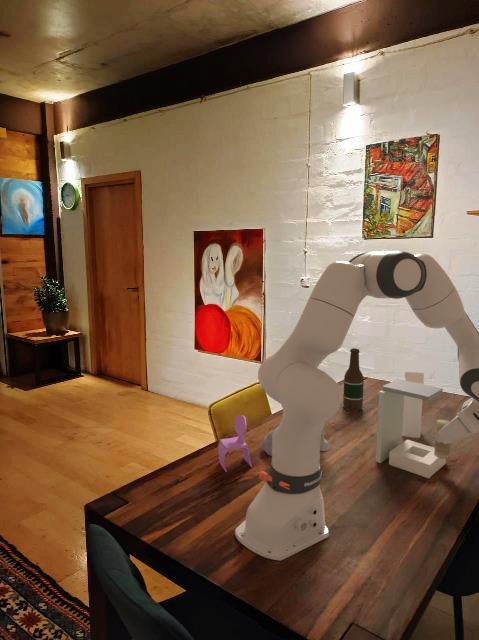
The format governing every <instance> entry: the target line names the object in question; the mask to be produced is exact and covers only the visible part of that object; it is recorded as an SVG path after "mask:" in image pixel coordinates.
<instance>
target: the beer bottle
mask: <svg viewBox="0 0 479 640" xmlns="http://www.w3.org/2000/svg"><path fill="white" fill-rule="evenodd" d="M349 352H350V356H349V365H348V369H347V370H346V371H345V374H344V377H343V394H342V400H343V403H342V405H343V408H344V409H345V410H348V411H354V412H355V411H356V412H357V411H360V410H363V406H364V405H363V404H364V384H365V383H364V376H363V373H362V371H361V368H360V349H359V348H350V350H349Z"/></svg>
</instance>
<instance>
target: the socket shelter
mask: <svg viewBox="0 0 479 640" xmlns="http://www.w3.org/2000/svg"><path fill="white" fill-rule="evenodd" d="M443 390H444V389H443V387H442V388H441V387H436V386H432V385H428V384H424V385H423V384H419V383H414V382H409V381H405V379H404V380H403V379H399V378H397V379H395V380H393V381H391V382H389V383H386V384H384V385H382V390H380V391H378V406H377V425H376V444H375V445H376V447H375V448H376V449H375V462H376V463H379V464H381V463H383V462H384V461H385V460H387V459H388V466H389V465H390V466H392V467H394V468H398V469H402V470H404V471H407V472H410V473H412V474H416V475H418V476H420V477H424V478H426V479H430V478H431V477H432V476H434V474H436V473H437V472H438V471H439V470H440V469H442V467H443V466H445V465H446V461H447V459H442V458H438V457H436V456H435V455H434V452H435V446H431V445H427V444H423V443H421V442H417V441H414V440H411V439H406V440H405V441H403V436H402V428H403V411H404V395H405V396H409V397H414V398H418V399H422V400H423V401H426V402H429V401H431V400H432V399H434V398H436V397H437V396H439V395H441V394H442V393H443Z"/></svg>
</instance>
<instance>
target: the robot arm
mask: <svg viewBox="0 0 479 640" xmlns="http://www.w3.org/2000/svg"><path fill="white" fill-rule="evenodd" d="M368 296H369V297H373V298H376V299H394V300H397V299H398V300H399V299H404V298H405V300H406V302H407V304H408V305H409V307H410V309H411V311H412V312H413V313H414V314H415V316H416V318H417V319H418V321H420V322H421V323H422V324H423V325H424V326H425V327H427V328H430V329H443V328H445V329H446V332H447V333H448V334H449V336H450V337H451V339H452V340H453V341H454V344H455V345H456V348H457V360H458V361H457V362H458V374H459V376H458V377H459V384H460V388H461V390H462V391H463V393H465V394H466V395H467V396H469V397H470V398H469V399H467V400H465V401H464V402H463V404H462V407H461V409H460V410H459V411H458V412H457V413H456V416H455V417H454V418H453V419H452V420H451V421H450V420H449V421H450V422H449V423H448V424H447V425H445V426H444V427H443V428H442V429H441V430H439V431H438V433H437V436H436V435H435V437H434V440H436V441H437V442H438V443H440V442H441V441H442V442H443V443H444V444H449V443H453V442H456V441H458V440H460V439H462V438H465V437H467V436H469V435H474V436H475V435H476V434H478V433H479V330H477V327H476V326H475V325H474V323H473V322H472V320H471V319H470V317H469V315H468V314H467V312H466V311H465V309H464V308H465V307H464V304H463V301H462V298H461V296H460V295H459V292H458V290H457V288H456V286H455V285H454V283H453V282H452V279H451V278H450V277H449V276H448V274H447V272H446V271H445V269H444V268H443V267H442V266H441V265H440V264H439V262H437V260H436V259H435V258H434V257H432V256H431V255H430V254H428V253H416V254H412V253H410V252H407V251H403V250H382V249H380V250H375V251H374V250H373V251H368V252H362V253H360V254H359V253H358V254H357V255H355V256H353V257H352V258H351V259H350V260H348V261H344V260H337V261H334V262H331V263H330V264H329V265H328V266H327V267H326V268H325V269H324V271H323V272H322V274H321V276H320V277H319V279H318V280H317V282H316V283H315V285H314V288H313V289H312V292H311V293H310V295H309V298H308V299H307V302H306V304H305V306H304V308H303V310H302V313H301V316H300V317H299V320H298V321H297V324H296V325H295V327H294V329H293V331H292V332H291V334H290V335H289V337H288V338H287V339H286V340H285V341H284V343H283V344H282V345H281V347H280V348H279V349H278V350H277V351H276V352H275V353H273V354H272V355H270V356H268V357H267V358H266V359H264V360H263V362H261V364H260V366H259V368H258V373H257V379H258V383H259V385H260V386H261V388H262V390H264V392H265V393H266V395H267V396H268V397H270V398H271V399H273V400H274V401H276V402H278V404H280V405H281V407H282V417H281V418H282V419H281V421H280V423H279V424H280V425H279V426H278V427H276V428H275V427H274V428H275V430H274V431H273V434H272V456H271V462H270V465H269V467H268V472H266V471H264V470H262V471H260V473H259V476H258V477H259V478H258V479H259V480H260V481H264V482H265V483H264V485H263V486H262V487H261V489H259V492H258V493H257V494H256V495H255V497H254V499H253V500H252V501H251V503H250V504H249V506H248V507H247V509H246V515H245V519H244V520H243V521H242V522H241V523H240V524H239V525H238V526H237V527H236V528H235V529H234V531H235V532H234V535H235V538H236V539H237V540H238V542H239V543H241V545H243V546H244V547H245V548H247V549H248V550H250V551H251V552H253V553H255V554H256V555H259V556H261V557H263V558H265V559H270V560H275V561H283V560H285V559H287V558H289V557H292V556H293V555H296V554H297V553H299V552H301V551H303V550H305V549H307V548H310V547H311V546H313V545H315V544H317V543H319V542H322V541H323V540H325V539H327V538H329V536H330V530H329V528H328V526H327V525H326V516H325V515H326V512H325V500H324V496H323V493H322V490H321V486H320V485H321V482H322V476H323V475H322V467H321V466H322V465H321V464H320V455H321V451H320V440H321V434H322V430H323V427H325V424H326V423H327V422H328V421H329V420H330V419H333V417H334V416H335V415H336V414H337V413H338V411H339V409H340V407H341V405H342V400H343V394H342V392H343V391H342V389H341V387H340V385H339V383H338V382H336V380H335V379H333V377H331V376H330V375H329V374H328V373H327V372H326V371H324V370H321V369H319V366H320V365H321V363H322V362H323V361H324V360H325V359H326V358H327V357H328V356H330V355H331V354H333V353H336V352H337V351H338V350H340V349H341V348H342V345H343V343H344V341H345V339H346V337H347V335H348V332H349V329H350V327H351V326H352V323H353V321H354V319H355V316H356V314H357V311H358V308H359V306H360V304H361V302H362V301H363V299H364V298H366V297H368ZM326 421H327V422H326Z"/></svg>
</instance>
